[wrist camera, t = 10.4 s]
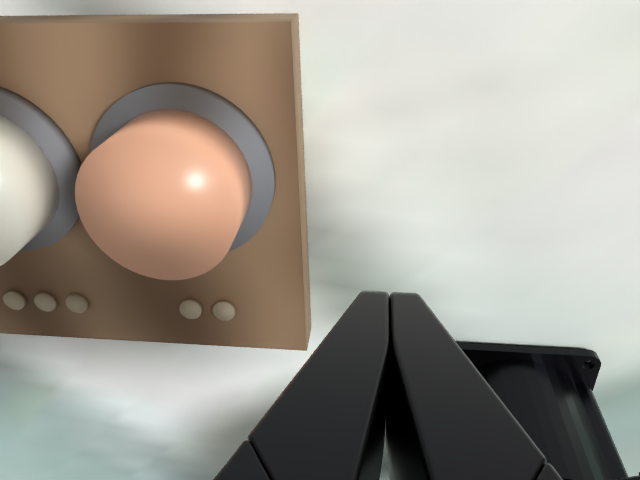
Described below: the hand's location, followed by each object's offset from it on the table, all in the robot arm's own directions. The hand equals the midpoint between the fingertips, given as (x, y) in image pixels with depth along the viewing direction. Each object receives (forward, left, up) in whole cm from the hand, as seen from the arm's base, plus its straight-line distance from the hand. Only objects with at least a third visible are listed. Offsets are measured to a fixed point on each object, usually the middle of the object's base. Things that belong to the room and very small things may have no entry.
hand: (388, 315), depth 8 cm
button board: (+14, +4, -12) cm, 19 cm away
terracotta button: (+7, +2, -10) cm, 12 cm away
